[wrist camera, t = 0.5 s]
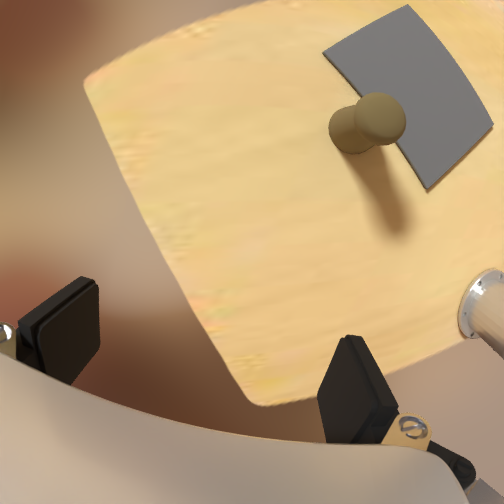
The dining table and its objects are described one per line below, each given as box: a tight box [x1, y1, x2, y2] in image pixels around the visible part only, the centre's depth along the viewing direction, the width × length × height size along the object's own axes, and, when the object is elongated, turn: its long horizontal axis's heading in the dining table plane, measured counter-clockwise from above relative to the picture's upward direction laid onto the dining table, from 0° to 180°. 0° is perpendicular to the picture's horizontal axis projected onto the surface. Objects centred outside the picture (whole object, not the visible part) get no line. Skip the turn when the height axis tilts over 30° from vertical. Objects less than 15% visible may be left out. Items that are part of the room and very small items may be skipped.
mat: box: [322, 4, 494, 189], centre depth 30 cm, size 22×18×1 cm
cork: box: [328, 92, 406, 154], centre depth 27 cm, size 6×6×11 cm
